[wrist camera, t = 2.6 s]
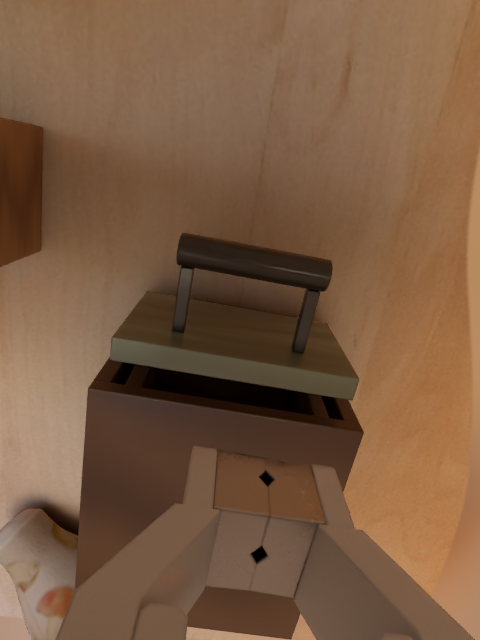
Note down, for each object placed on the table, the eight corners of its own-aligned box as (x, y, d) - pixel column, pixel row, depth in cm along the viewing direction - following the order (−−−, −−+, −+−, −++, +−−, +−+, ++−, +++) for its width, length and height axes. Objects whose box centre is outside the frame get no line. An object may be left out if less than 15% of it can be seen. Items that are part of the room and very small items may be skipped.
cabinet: (136, 317, 26) (87, 387, 18) (325, 349, 27) (364, 432, 18) (118, 491, 31) (72, 613, 23) (277, 514, 32) (291, 640, 23)
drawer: (155, 211, 23) (120, 228, 16) (348, 248, 24) (393, 280, 17) (126, 466, 29) (92, 557, 22) (280, 489, 30) (292, 584, 23)
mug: (35, 471, 31) (51, 604, 23) (123, 502, 37) (156, 613, 30) (-39, 538, 30) (-46, 692, 23) (62, 557, 37) (81, 683, 30)
